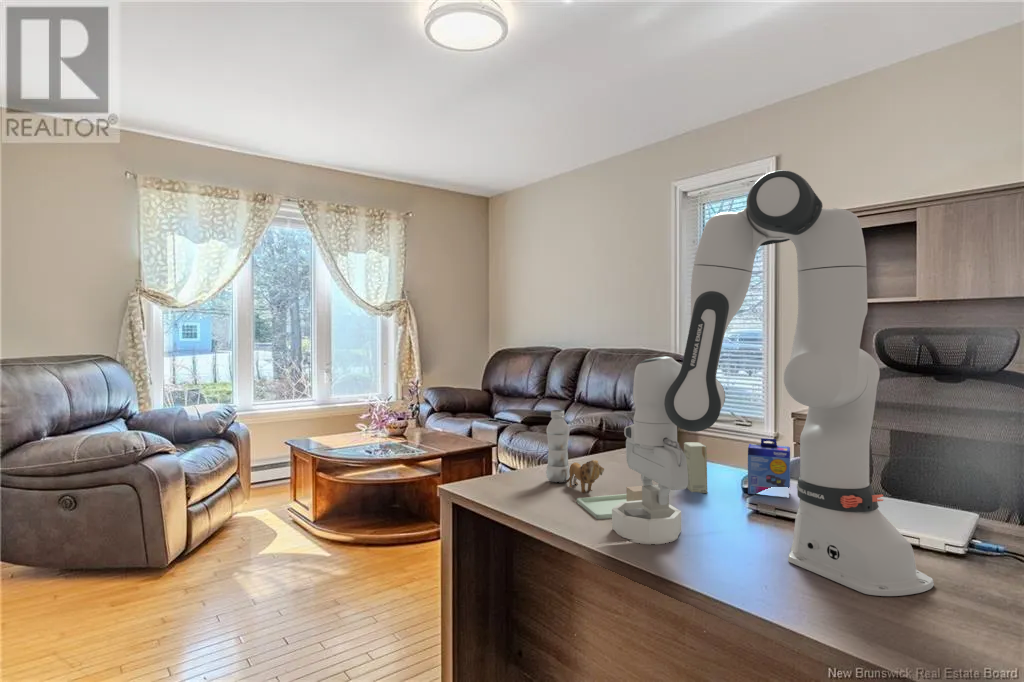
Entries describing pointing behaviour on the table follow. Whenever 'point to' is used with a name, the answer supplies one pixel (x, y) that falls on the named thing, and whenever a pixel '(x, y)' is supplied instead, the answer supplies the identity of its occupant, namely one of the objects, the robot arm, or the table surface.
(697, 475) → the skincare box
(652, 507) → the pale grey cube
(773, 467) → the ink cartridge box
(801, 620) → the table surface
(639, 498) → the tan cube
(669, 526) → the bowl
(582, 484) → the lion figurine
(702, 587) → the table surface
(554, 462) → the plastic bottle
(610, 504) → the tray
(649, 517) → the gray cube
